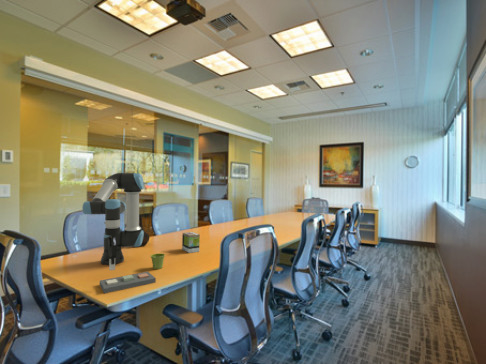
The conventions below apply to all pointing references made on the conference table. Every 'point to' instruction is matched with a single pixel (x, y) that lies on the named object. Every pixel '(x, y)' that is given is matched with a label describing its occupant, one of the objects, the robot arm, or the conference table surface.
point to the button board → (126, 283)
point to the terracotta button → (143, 275)
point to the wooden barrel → (146, 236)
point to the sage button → (127, 278)
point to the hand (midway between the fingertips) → (112, 269)
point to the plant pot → (157, 260)
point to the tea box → (190, 242)
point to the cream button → (111, 282)
